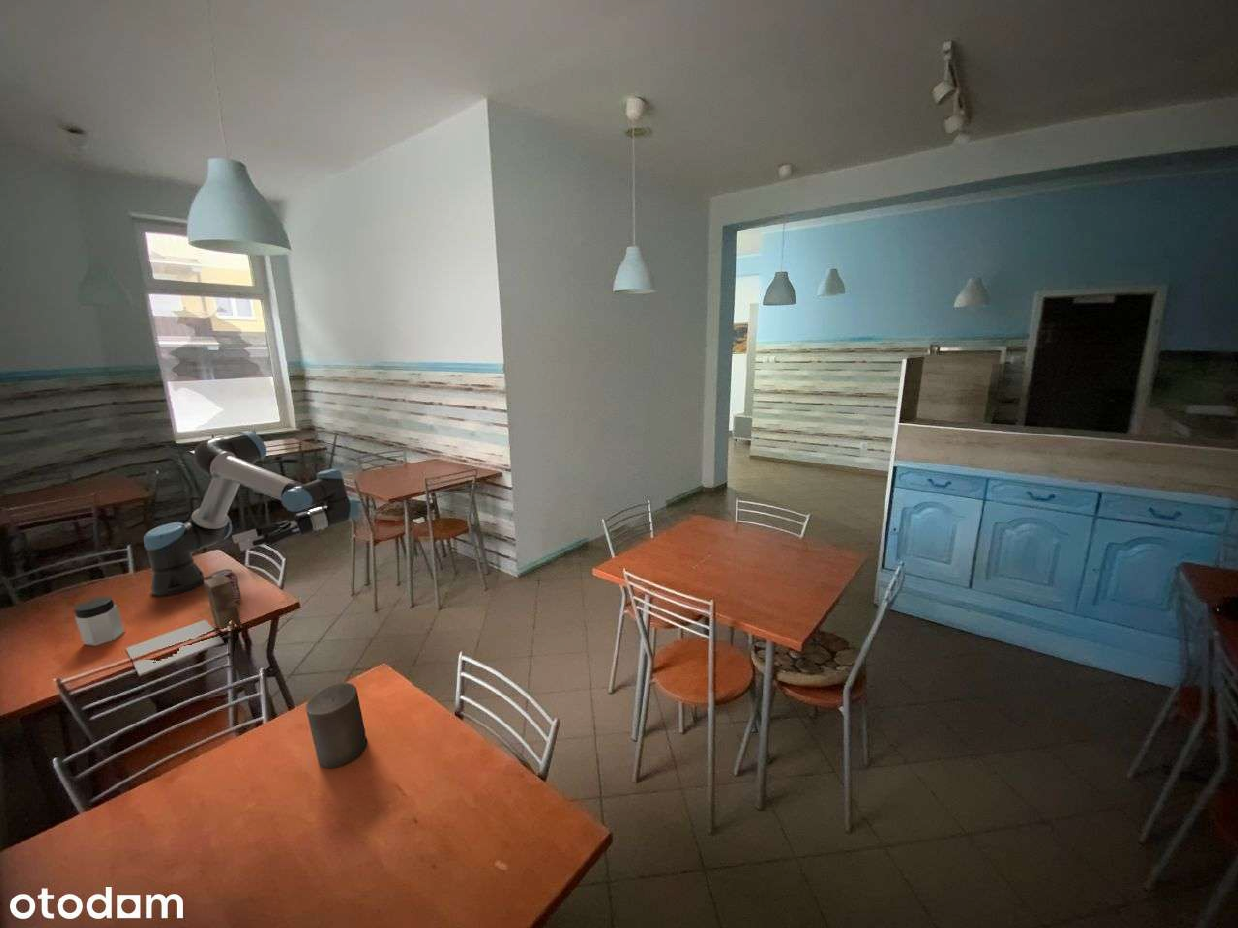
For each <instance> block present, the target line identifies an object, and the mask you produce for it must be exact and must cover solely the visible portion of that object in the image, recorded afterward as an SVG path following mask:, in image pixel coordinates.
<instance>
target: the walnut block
mask: <svg viewBox="0 0 1238 928" xmlns="http://www.w3.org/2000/svg"><path fill="white" fill-rule="evenodd" d="M203 583H204V587H205V591H206V592H205V593H206V595H207V598H208V602H209V606H210V609H211V615H212V618H213V622H214V625H215V627H216V628H217V629H218V628H220V629H224V628H227V626H228V624H229V622H230V621H231V620H234V622H235V624H236V625H237V626H240V628H243V626H242V625H243V624H242V620H241V617H240V614H239V609H238V604H237V605H236V601H235V597H234V592H233V588H232V584H231V581H230V580H229V579H228V578H226V577H225V576H224V575H220V576H216V577H213V578H207V579H205V580H204V582H203Z"/></svg>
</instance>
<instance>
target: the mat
mask: <svg viewBox="0 0 1238 928" xmlns="http://www.w3.org/2000/svg"><path fill="white" fill-rule="evenodd" d="M212 630H215V629H214V628H213V626H211V624H210V623H209V622H208V621H207V619H203V620H200V621H198V622H194V623H191V624H189V625H187V626H184V627H181V628H177V629H175V630H172V631H169V632H167V633H165V634H161V635H158V636H155V637H153V638H150V639H147V640H145V641H141V642H140V643H136V644H133V645H130V646H128V647H126V648H125V650H126V652H127V654H128V657H129V659H131V658H135V657H138V656H142V655H144V654H147V653H148V652H152V651H154V650H156V649H162V648H165V647H168V646H172V645H175V644H177V643H180V642H184V641H187V640H189V639H195V638H197V637H199V636H201V635H203V634H206V633H207V632H209V631H212ZM224 643H225V642H224V639H222V638H221V636H220V635H219V636H217V637H214V638H210V639H207V640H204V641H200V642H197V643H194V644H192V645H186V646H182V647H180V648H179V651H177V654H173V656H174V657H168V659H161V660H162V661H156V660H155V661H154V660H141V661H137V662H135V663H133V662H132V664H133V666H134V668H135V670H136V672H137V674H138V676H139V677H141V676H144V675H146V674H149V673H152V672H154V671H156V670H159V669H162V668H165V667H167V666H169V665H172V664H175V663H177V662H180V661H182V660H184V659H187V658H189V657H191V656H195V655H197V654H200V653H202V652H205V651H207V650H209V649H212V648H215V647H218V646H219V645H222V644H224ZM153 662H156V663H153Z"/></svg>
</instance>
